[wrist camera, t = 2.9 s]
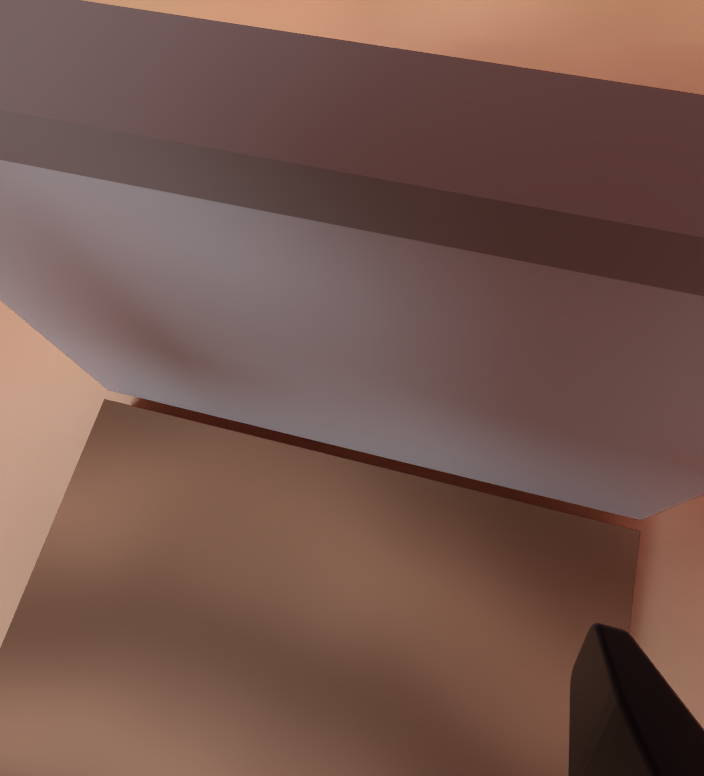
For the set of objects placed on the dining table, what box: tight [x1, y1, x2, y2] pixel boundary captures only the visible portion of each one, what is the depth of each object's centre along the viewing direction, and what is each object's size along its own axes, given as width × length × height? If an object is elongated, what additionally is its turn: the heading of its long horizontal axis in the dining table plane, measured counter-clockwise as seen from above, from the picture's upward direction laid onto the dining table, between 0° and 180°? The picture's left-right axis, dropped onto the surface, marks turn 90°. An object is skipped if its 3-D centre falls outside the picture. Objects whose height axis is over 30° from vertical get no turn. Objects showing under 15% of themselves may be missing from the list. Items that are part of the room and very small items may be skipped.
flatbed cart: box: [0, 399, 640, 776], centre depth 16 cm, size 13×16×3 cm
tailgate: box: [0, 0, 704, 520], centre depth 13 cm, size 2×16×12 cm, turn 75°
